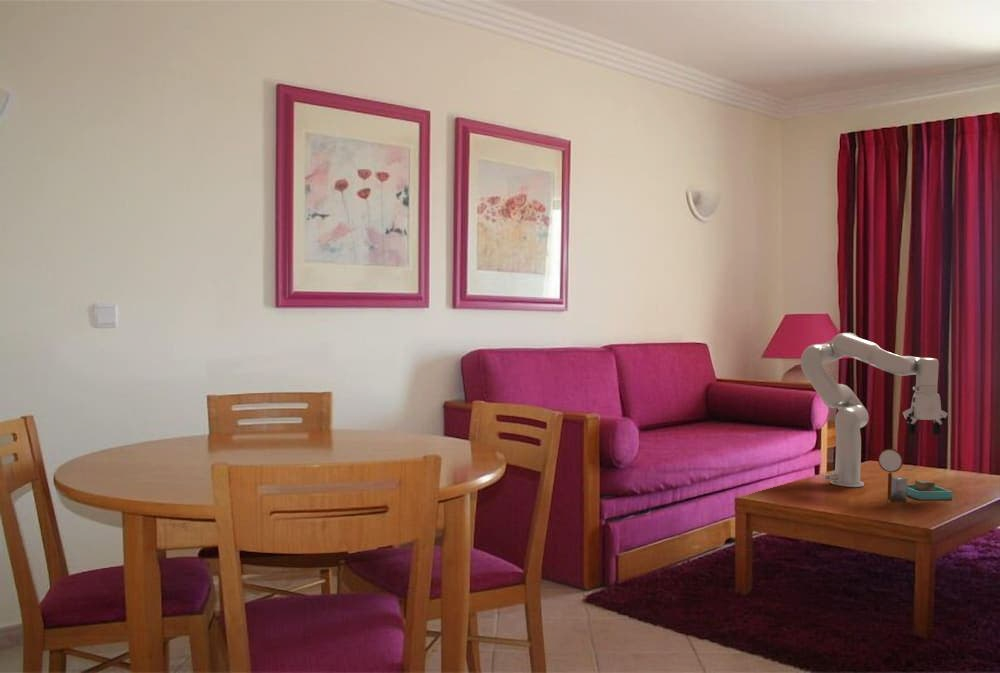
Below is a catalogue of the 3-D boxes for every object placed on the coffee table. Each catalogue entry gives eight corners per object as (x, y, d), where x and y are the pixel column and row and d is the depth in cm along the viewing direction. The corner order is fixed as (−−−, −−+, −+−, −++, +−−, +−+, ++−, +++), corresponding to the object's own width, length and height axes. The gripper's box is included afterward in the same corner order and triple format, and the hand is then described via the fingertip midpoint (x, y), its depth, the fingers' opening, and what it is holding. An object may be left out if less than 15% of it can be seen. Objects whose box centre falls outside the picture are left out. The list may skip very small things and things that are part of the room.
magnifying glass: (902, 504, 326) (903, 450, 325) (900, 505, 325) (902, 450, 324) (877, 500, 332) (879, 447, 331) (876, 501, 330) (877, 447, 330)
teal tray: (917, 499, 335) (918, 491, 335) (898, 492, 348) (898, 484, 348) (952, 499, 336) (952, 491, 336) (931, 492, 350) (931, 484, 349)
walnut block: (922, 495, 339) (922, 482, 339) (914, 492, 344) (915, 480, 344) (934, 495, 340) (934, 482, 340) (926, 492, 345) (927, 480, 345)
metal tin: (895, 501, 332) (895, 479, 331) (886, 497, 338) (887, 476, 337) (910, 501, 332) (911, 479, 332) (901, 497, 338) (902, 476, 338)
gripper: (910, 390, 338) (907, 435, 339) (953, 391, 339) (951, 436, 340) (899, 388, 345) (897, 432, 346) (942, 389, 347) (940, 433, 347)
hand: (924, 434), depth 343 cm, fingers open, 9 cm apart
